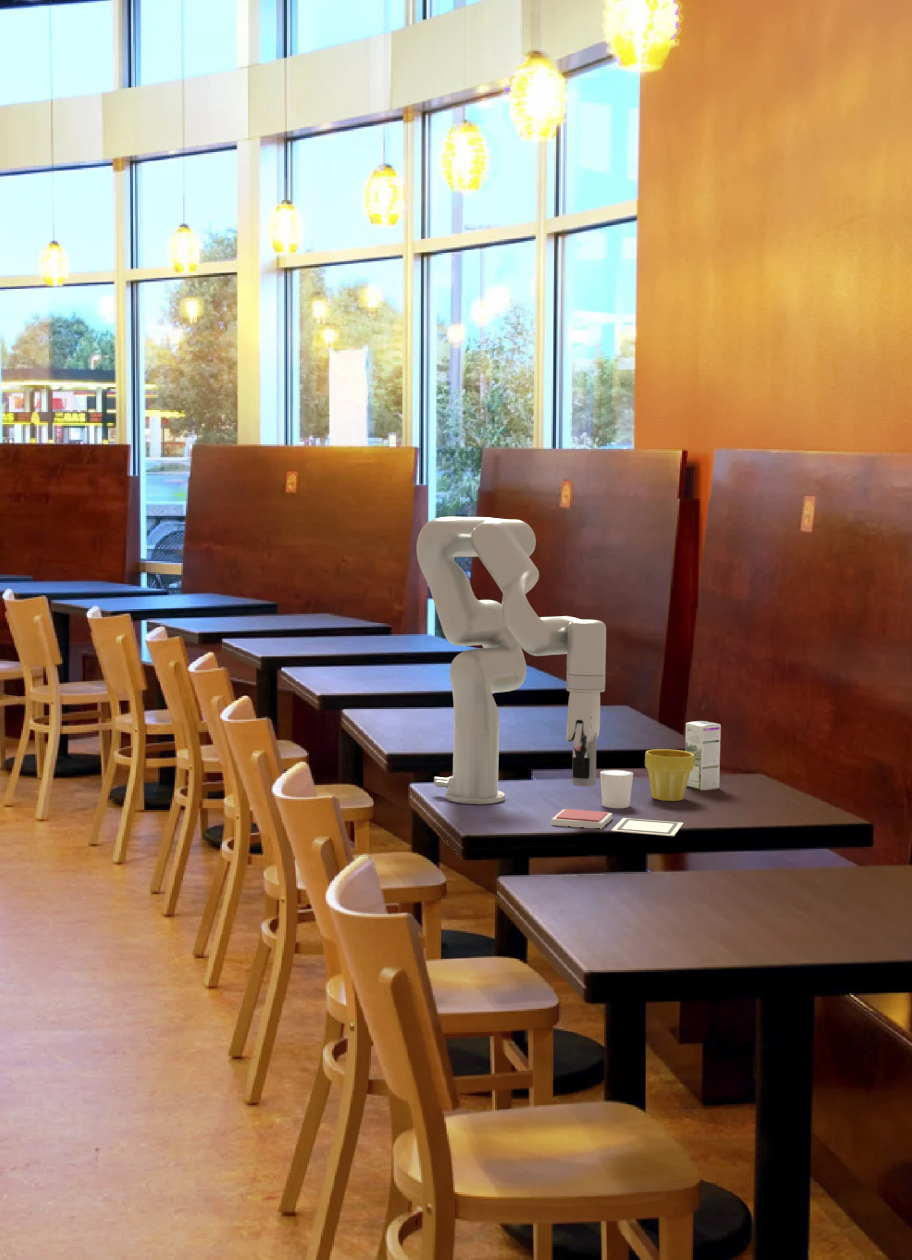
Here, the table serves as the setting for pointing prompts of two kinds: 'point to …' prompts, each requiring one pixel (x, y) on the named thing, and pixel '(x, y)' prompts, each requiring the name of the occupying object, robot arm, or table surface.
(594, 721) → the robot arm
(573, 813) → the ink pad
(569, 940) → the table surface
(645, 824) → the print card
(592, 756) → the grey cylinder
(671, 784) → the plant pot
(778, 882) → the table surface
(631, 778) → the white cup
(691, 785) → the syrup box
